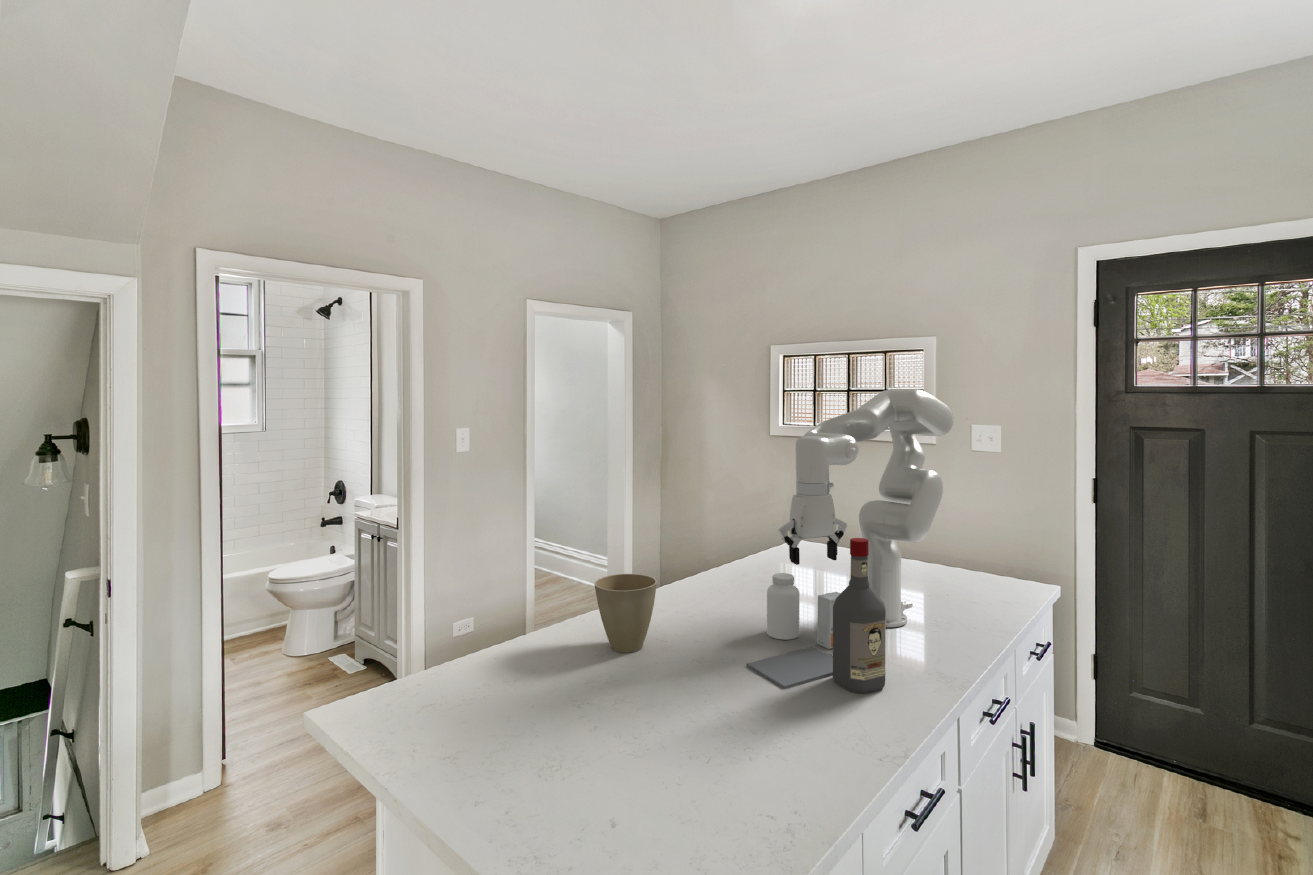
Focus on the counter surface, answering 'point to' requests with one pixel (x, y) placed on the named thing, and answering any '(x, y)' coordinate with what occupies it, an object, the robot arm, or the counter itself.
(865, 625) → the liquor
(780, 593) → the pill bottle
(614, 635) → the plant pot
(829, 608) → the skincare box
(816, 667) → the mat
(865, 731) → the counter surface
